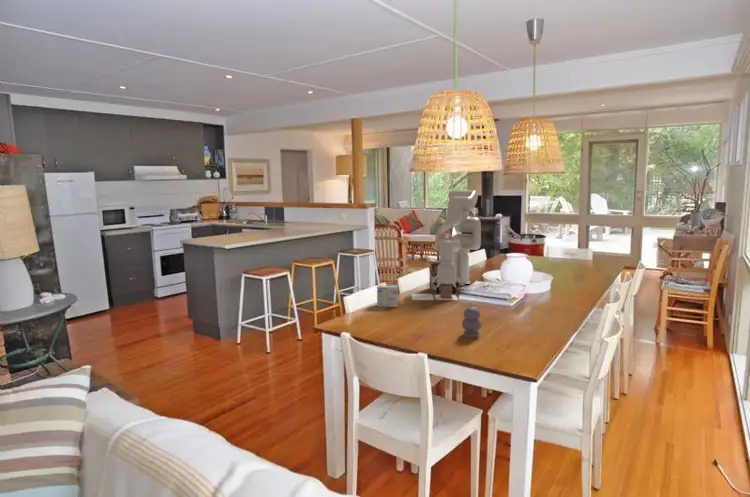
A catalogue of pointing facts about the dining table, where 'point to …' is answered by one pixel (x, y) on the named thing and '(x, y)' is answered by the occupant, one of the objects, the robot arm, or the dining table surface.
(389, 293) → the light bulb box
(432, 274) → the coffee box
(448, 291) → the walnut block
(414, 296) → the sage mat
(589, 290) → the dining table surface
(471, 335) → the cat figurine
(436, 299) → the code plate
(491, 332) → the dining table surface
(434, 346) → the dining table surface
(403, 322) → the dining table surface
